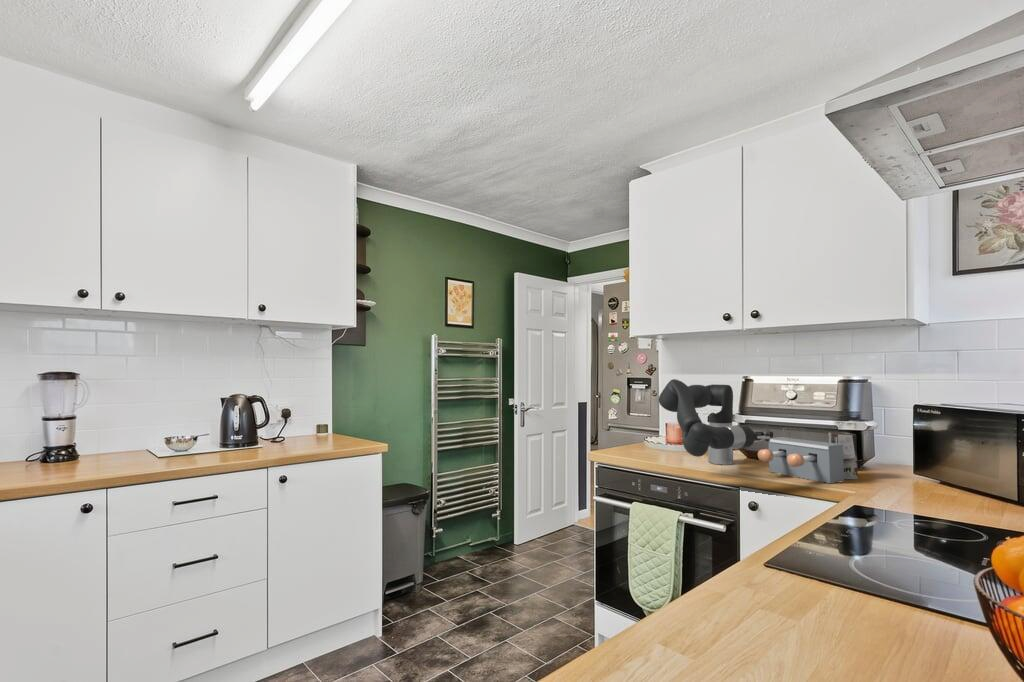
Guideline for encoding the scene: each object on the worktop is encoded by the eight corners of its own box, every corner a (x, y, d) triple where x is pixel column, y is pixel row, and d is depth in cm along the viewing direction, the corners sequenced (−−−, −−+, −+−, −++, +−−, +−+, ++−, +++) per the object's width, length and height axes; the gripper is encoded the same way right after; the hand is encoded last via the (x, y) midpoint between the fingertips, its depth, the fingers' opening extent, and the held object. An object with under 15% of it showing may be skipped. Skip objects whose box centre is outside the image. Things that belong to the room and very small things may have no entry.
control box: (768, 472, 209) (767, 438, 209) (783, 470, 212) (782, 437, 213) (829, 483, 187) (828, 446, 188) (844, 481, 191) (842, 444, 192)
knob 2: (787, 465, 190) (786, 453, 190) (809, 463, 196) (808, 450, 196) (798, 467, 186) (798, 455, 186) (820, 464, 192) (820, 452, 192)
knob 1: (757, 460, 201) (757, 448, 201) (779, 458, 206) (779, 446, 206) (768, 462, 197) (767, 450, 197) (789, 460, 202) (789, 448, 203)
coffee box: (858, 479, 194) (857, 434, 195) (839, 479, 195) (837, 434, 196) (848, 474, 203) (846, 431, 204) (829, 474, 204) (828, 431, 205)
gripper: (752, 427, 172) (788, 425, 180) (719, 423, 184) (754, 422, 192) (752, 451, 172) (788, 447, 180) (719, 446, 184) (755, 443, 191)
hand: (771, 434), depth 186 cm, fingers closed
